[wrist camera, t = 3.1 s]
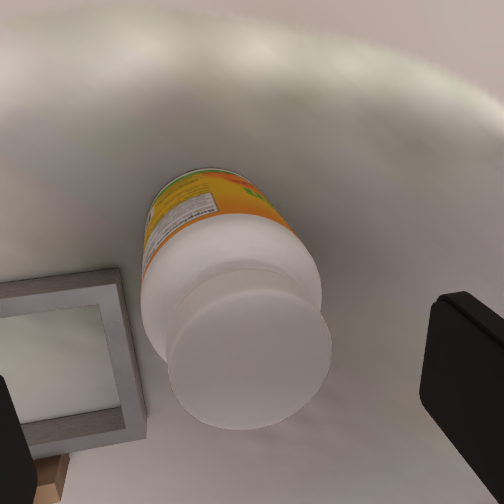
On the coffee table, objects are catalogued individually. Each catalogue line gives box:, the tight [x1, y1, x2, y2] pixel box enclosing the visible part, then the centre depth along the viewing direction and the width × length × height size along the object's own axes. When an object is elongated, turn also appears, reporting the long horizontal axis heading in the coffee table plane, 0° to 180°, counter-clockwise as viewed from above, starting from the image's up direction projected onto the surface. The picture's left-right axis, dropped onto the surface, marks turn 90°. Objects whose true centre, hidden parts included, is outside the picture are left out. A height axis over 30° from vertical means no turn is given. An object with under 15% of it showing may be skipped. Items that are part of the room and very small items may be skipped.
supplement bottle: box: [141, 168, 332, 430], centre depth 15 cm, size 5×5×10 cm
